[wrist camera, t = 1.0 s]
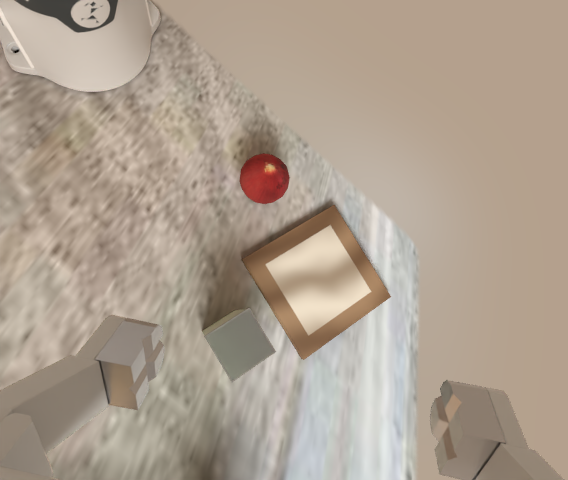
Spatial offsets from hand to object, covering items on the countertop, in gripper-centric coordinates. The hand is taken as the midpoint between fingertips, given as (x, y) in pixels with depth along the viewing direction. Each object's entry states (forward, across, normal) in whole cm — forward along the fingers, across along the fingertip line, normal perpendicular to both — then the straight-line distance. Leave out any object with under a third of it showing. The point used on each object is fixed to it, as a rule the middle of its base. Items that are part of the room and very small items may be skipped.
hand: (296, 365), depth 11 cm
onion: (+37, +8, +12) cm, 40 cm away
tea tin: (+24, +8, +25) cm, 36 cm away
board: (+32, -1, +21) cm, 38 cm away
